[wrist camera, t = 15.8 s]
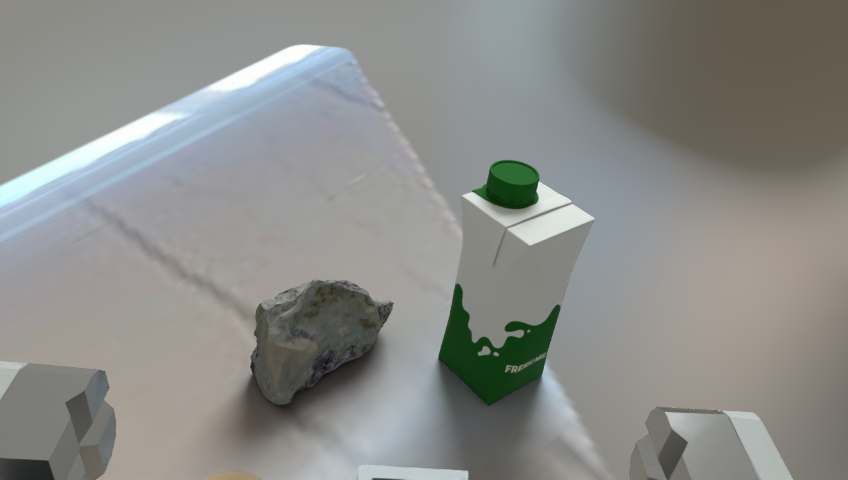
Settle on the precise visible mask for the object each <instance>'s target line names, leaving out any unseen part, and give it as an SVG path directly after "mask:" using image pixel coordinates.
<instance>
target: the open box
mask: <svg viewBox="0 0 848 480" xmlns="http://www.w3.org/2000/svg"><path fill="white" fill-rule="evenodd" d="M357 480H468V471H463V470H446V469H429V468H412V467H395V466H378V465H361V464H358V473H357Z"/></svg>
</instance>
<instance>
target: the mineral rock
mask: <svg viewBox="0 0 848 480" xmlns="http://www.w3.org/2000/svg"><path fill="white" fill-rule="evenodd" d="M393 304H394V303H393V302H391V301H386V300H375V299H371V298H370V296H369V293H368V292H367V291H366V290H364V289H362V288H360V287H359V286H357V285H355V284H353V283H351V282H349V281H336V280H327V281H322V280H316V279H314V280H313V281H312V282H311V281H310V282H307V283H305V284H303V285H301V286H299V287H296V288H292V289H289V290H287V291H284V292H282V293H280V294H278V295H277V296H276V297H275V299H274V300H266V301H262V302H261V303H260V304H259V306H258V308H257V310H256V322H257V324H256V330H255V332H254V335H255V336H256V337H257V347H256V348H255V349H254V351H253V353H252V355H251V360H252V362H251V366H250V367H251V370H252V373H253V374H254V376H255V378H256V380H257V383H258V385H259V388H260V391H261V392H262V394H263V395H264V396H265V398H267V399H268V400H269V401H271V402H272V403H274V404H276V405H286V404H288V403H290V402H291V401H292V400H293V397H294V394H295V392H298V391H301V390H303V389H305V388H306V387H312V386H314V385H315V384H316V382H318V381H319V379H320V377H321V376H322V375H323V374H325V373H329V372H332V371H333V370H335V369H336V368H338V366H339V365H341V364H343V363H344V362H347V361H349V360H353V359H356V358H359V357H361V356H362V355H363V354H364V353H365V352H367V351H369V350H370V348H371V347H372V346H373V344H374V343H375V341H376V339H377V336H378V333H379V331H380V329H381V328H382V327H383V324H384V323H385V322H386V321H387V319H388V317H389V315H390V313H391V310H392V308H393V307H392V306H393Z"/></svg>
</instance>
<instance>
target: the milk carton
mask: <svg viewBox="0 0 848 480" xmlns="http://www.w3.org/2000/svg"><path fill="white" fill-rule="evenodd" d="M461 198H462V230H463V243H462V250H461V256H460V262H459V267H458V273H457V278H456V284H455V289H454V294H453V300H452V305H451V311H450V316H449V320H448V324H447V327H446V331H445V334H444V338H443V342H442V345H441V349H440V353H439V356H438V357H439V358H440V359H441V360H442V361H443V362H444V363H445V364H446V365H447V366H448V367H449V368H450V369H452V370H453V371H454V372H455V373H456V374H457V375H458V376H459V377H460V378H461V379H462V380H463V381H464V382H465V383H466V384H467V385H468V386H469V387H470V388H471V389H472V390H473V391H474V392H475V393H476V394H477V395H478V396H479V397H480V398H481V399H482V400H483V401H484V402H485V403H486V404H487V405H490V404H492V403H494V402H496V401H497V400H499V399H501V398H503V397H504V396H506V395H508V394H510V393H511V392H513V391H515V390H517V389H518V388H520V387H522V386H524V385H525V384H527V383H529V382H531V381H532V380H534V379H536V378H538V377H539V376H541V375H542V373H543V369H544V364H545V360H546V356H547V352H548V348H549V345H550V341H551V338H552V335H553V331H554V328H555V325H556V322H557V318H558V315H559V312H560V308H561V305H562V302H563V299H564V295H565V292H566V288H567V285H568V282H569V279H570V275H571V272H572V270H573V267H574V264H575V262H576V260H577V258H578V255H579V253H580V251H581V249H582V246H583V244H584V242H585V240H586V237H587V235H588V233H589V231H590V229H591V226H592V224H593V222H594V220H595V218H593V217H592V216H590V215H588V214H587V213H585V212H584V211H582V210H581V209H579V208H577V207H576V206H574V205H573V204H572V201H570V200H569V199H567V198H566V197H564V196H561V195H559V194H558V193H556V192H555V191H553V190H552V189H550V188H548V187H547V186H545V185H544V184H542V183H540V182H539V174H538V172H537V171H536V169H534V168H533V167H532V166H530V165H528V164H525V163H522V162H519V161H513V160H502V161H498V162H495V163H493V164H492V165H491V167H490V171H489V176H488V180H487V184H485V185H484V186H483V187H482V188H480V189H476V190H473V191H472V192H471V193H468V194H465V195H463V196H462V197H461Z"/></svg>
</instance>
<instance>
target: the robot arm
mask: <svg viewBox="0 0 848 480" xmlns="http://www.w3.org/2000/svg"><path fill="white" fill-rule="evenodd" d="M108 390H109V384H108V380H107V376H106V373H105V371H102V370H97V369H86V368H76V367H65V366H54V365H43V364H32V363H28V364H27V363H16V362H4V361H0V480H96V479H98V478H99V477H100V476H101V475H103V474H104V473H105V471H106V468H107V466H108V463H109V461H110V458H111V456H112V451H113V447H114V442H115V437H116V418H115V412H114V408H112V407H111V406H110V405H109V404H108V403H107V402H105V401H104V398H105V396H106V394H107V392H108ZM645 423H646V426H647V429H648V432H649V434H648V435H647V436H645V437H644V438H642V439H641V440H639V441H637V443H636V445H635V448H634V450H633V453H632V455H631V463H630V480H793V479H792V477H791V475H790V473H789V471H788V470H787V468H786V466H785V464H784V462H783V460H782V458H781V456H780V455H779V453H778V451H777V449H776V447H775V445H774V443H773V442H772V440H771V438H770V436H769V434H768V432H767V430H766V428H765V427H764V425H763V423H762V421H761V419H760V418H759V417H758V416H756V415H755V414H754V413H751V412H736V411H717V410H707V409H690V408H672V407H656V408H655V409H653V410H652V411H651V412H650V414H649V416H648V418H647V420H646V422H645Z"/></svg>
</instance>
